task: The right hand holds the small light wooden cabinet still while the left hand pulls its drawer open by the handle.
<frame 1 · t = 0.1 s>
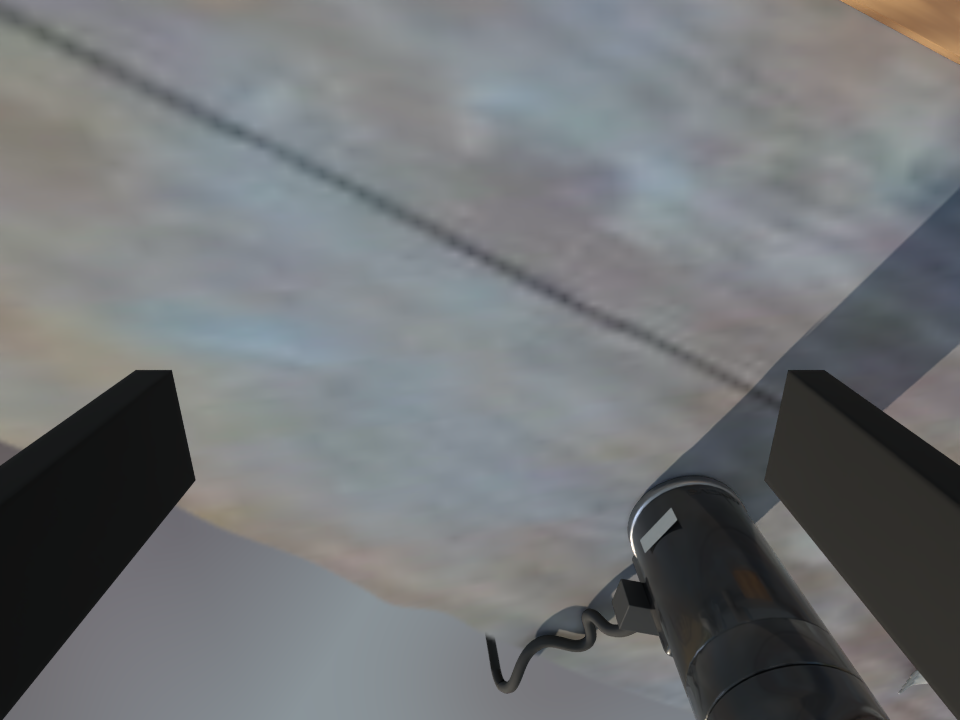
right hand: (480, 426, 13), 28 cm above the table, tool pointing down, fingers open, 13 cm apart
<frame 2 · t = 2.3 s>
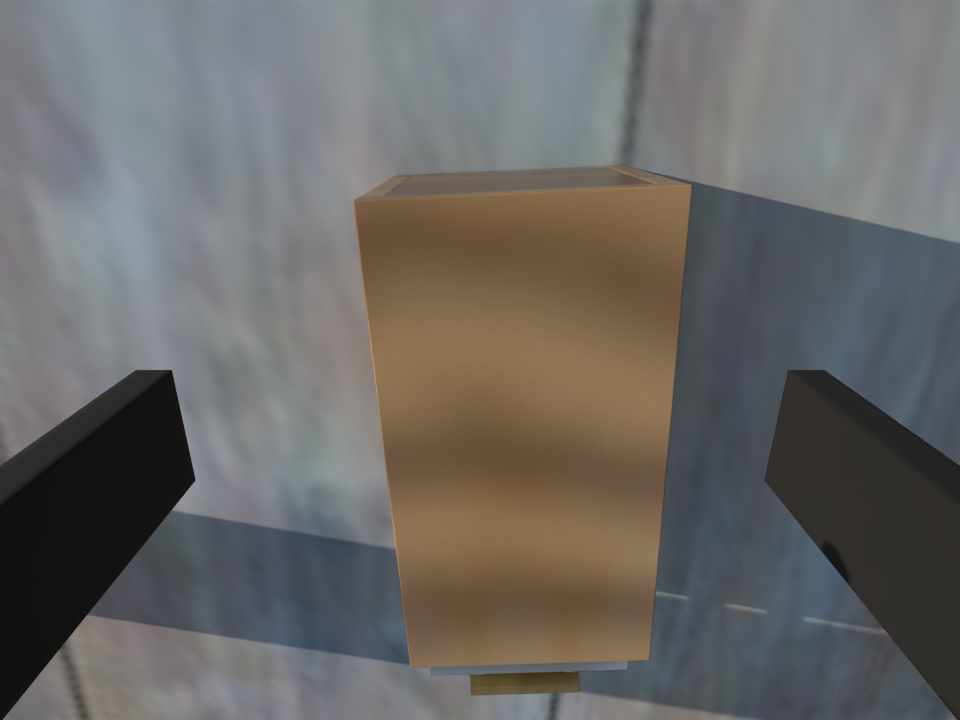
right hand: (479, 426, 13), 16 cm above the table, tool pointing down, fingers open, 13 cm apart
drawer: (521, 511, 28), point 5 cm above the table, slide at 0.5 cm
cabinet: (513, 372, 30), on the table
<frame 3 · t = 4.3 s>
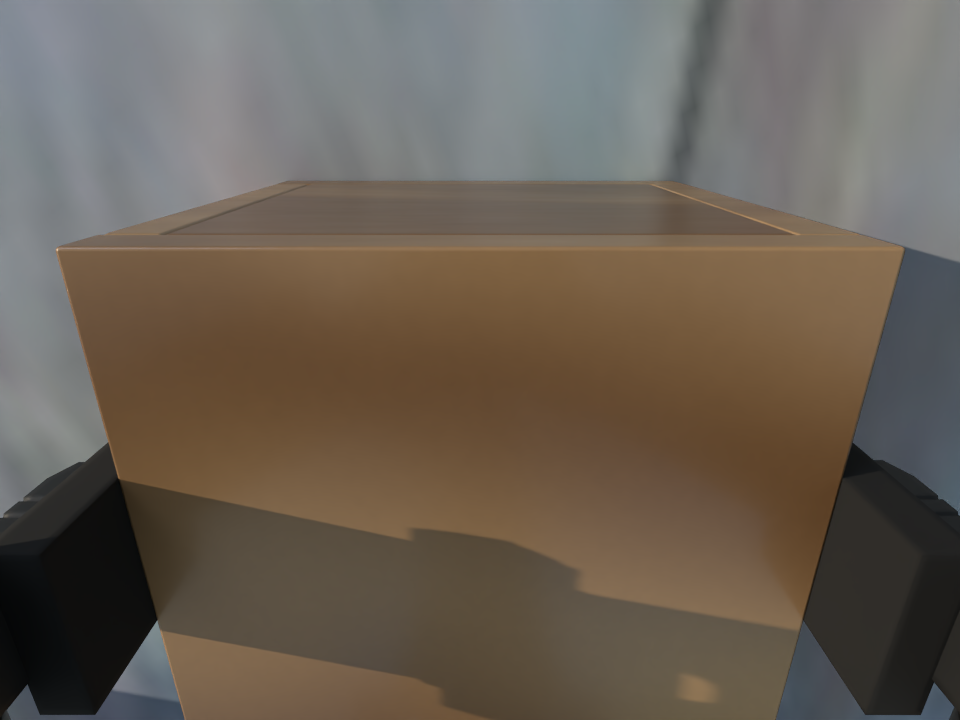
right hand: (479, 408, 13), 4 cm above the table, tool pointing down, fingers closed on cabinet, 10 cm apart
cabinet: (480, 492, 19), on the table, touching right hand
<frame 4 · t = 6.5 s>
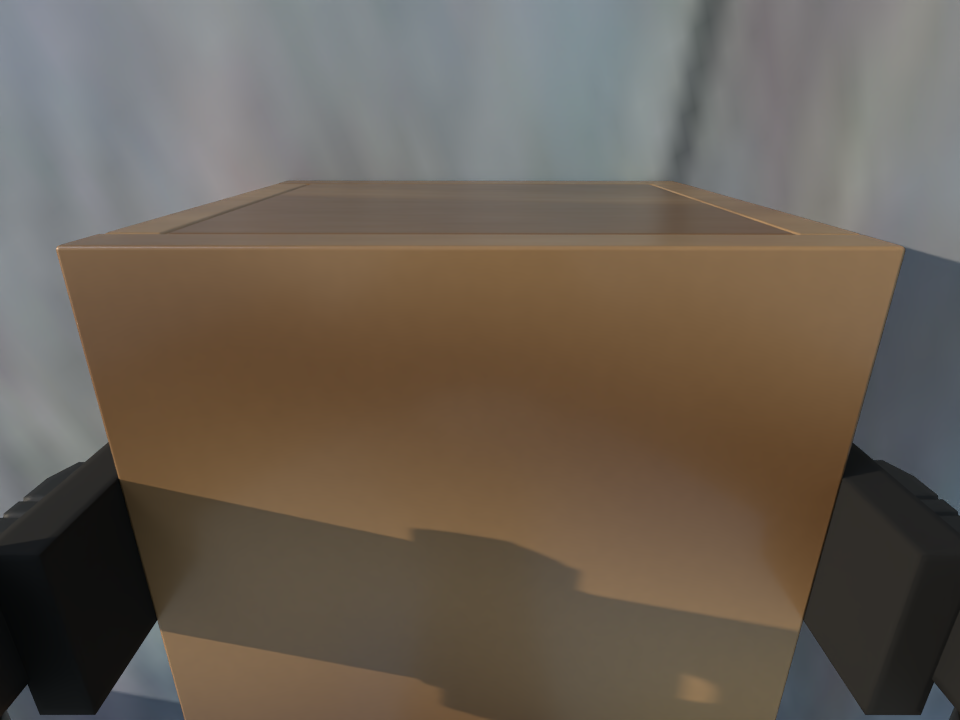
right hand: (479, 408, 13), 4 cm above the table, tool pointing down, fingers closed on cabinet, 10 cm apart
cabinet: (479, 492, 19), on the table, touching right hand
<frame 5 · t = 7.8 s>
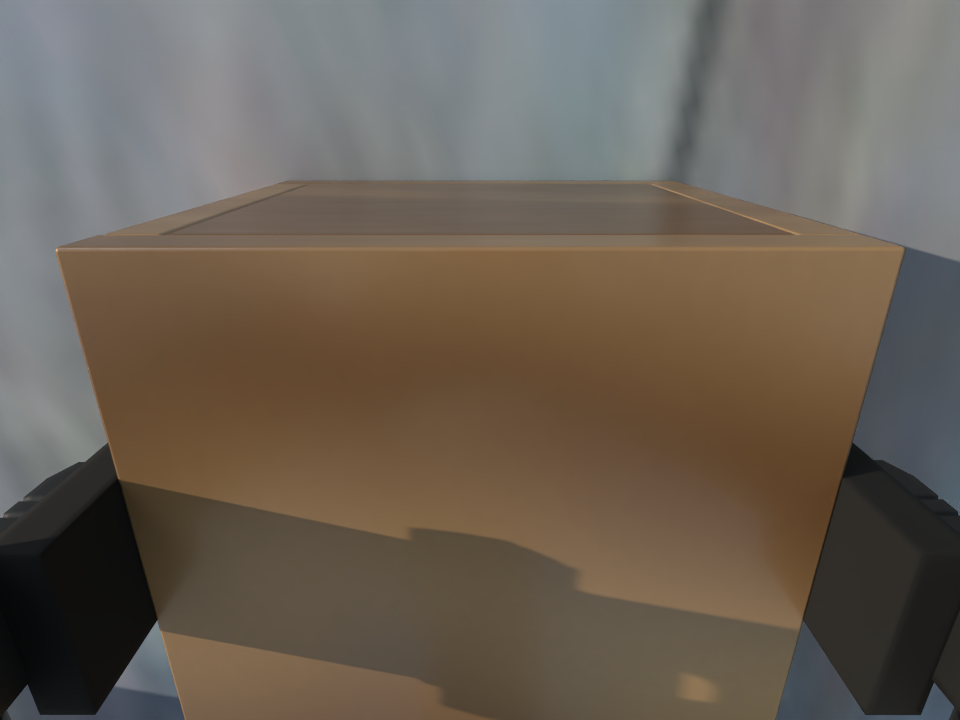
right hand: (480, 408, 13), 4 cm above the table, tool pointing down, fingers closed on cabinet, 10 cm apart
cabinet: (479, 492, 19), on the table, touching right hand
when the right hand's fingers open (4 cm above the table, at t = 9.4 s): cabinet stays where it is, on the table.
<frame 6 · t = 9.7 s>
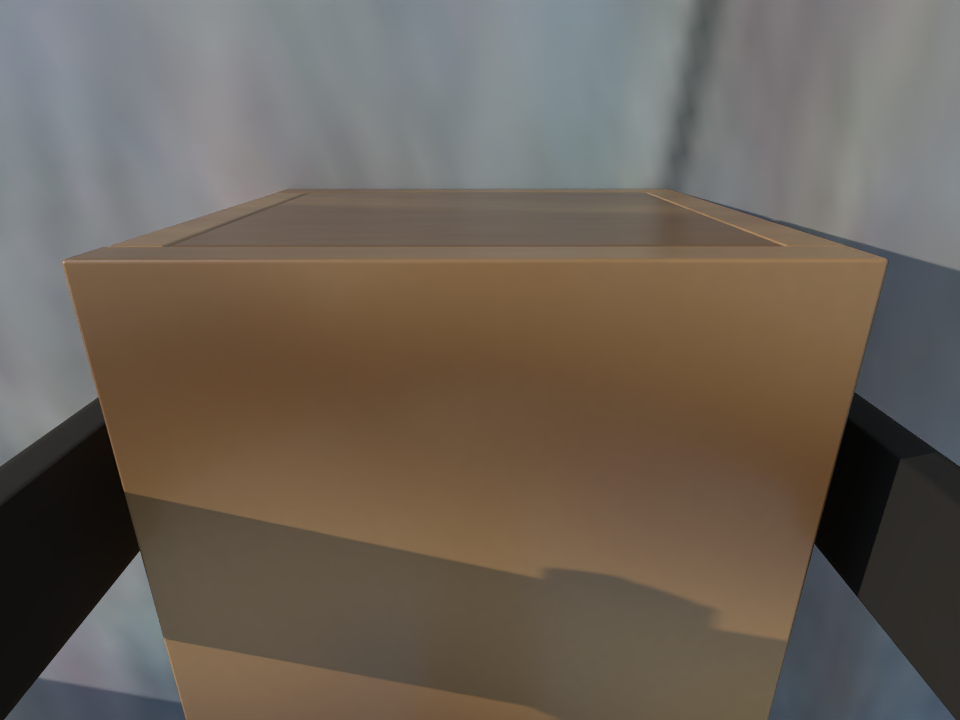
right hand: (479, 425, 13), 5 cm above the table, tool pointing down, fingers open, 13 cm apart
cabinet: (478, 496, 20), on the table
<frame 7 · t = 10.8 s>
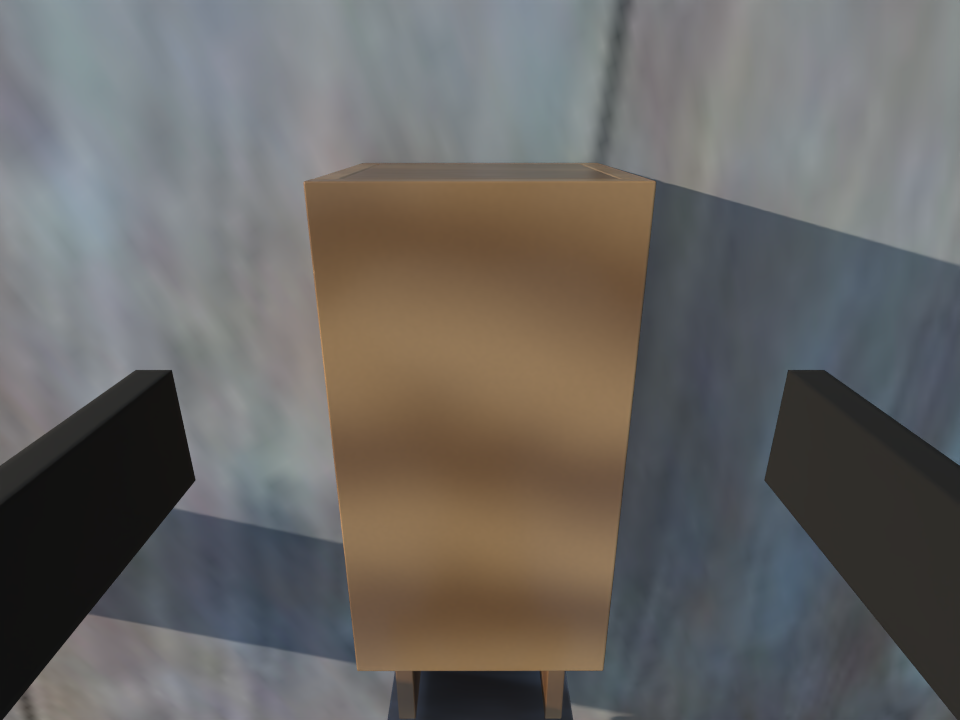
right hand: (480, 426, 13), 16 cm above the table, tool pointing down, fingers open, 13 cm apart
drawer: (480, 602, 29), point 5 cm above the table, slide at 6.0 cm
cabinet: (480, 370, 29), on the table
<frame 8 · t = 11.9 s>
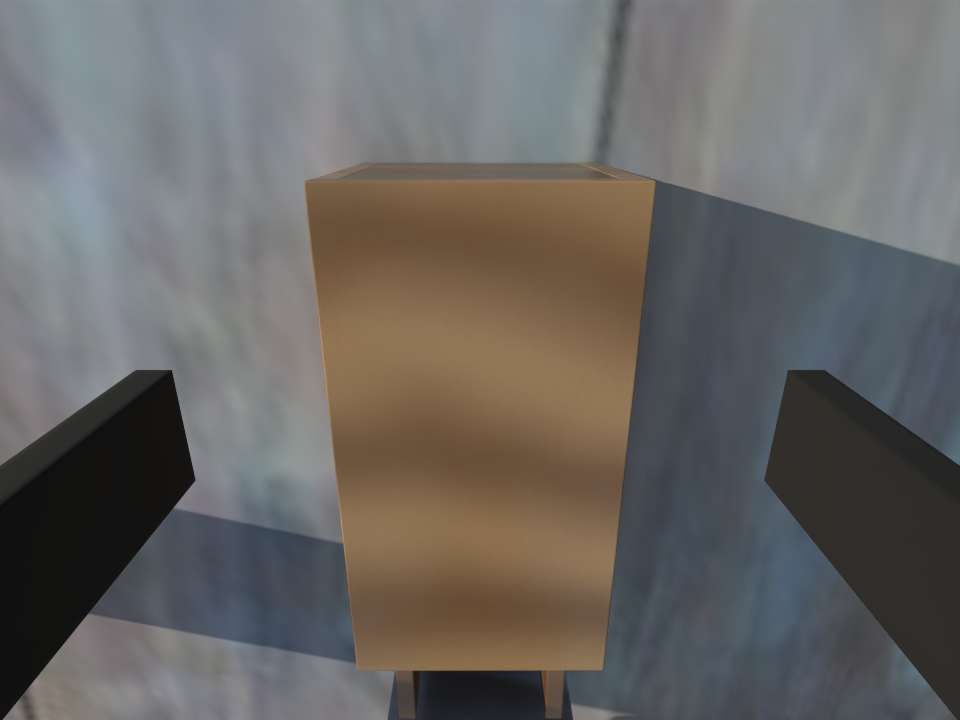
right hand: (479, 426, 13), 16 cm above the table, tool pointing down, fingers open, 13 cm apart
drawer: (480, 602, 29), point 5 cm above the table, slide at 6.0 cm
cabinet: (480, 370, 29), on the table
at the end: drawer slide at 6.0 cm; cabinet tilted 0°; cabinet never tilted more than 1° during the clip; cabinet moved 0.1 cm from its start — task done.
